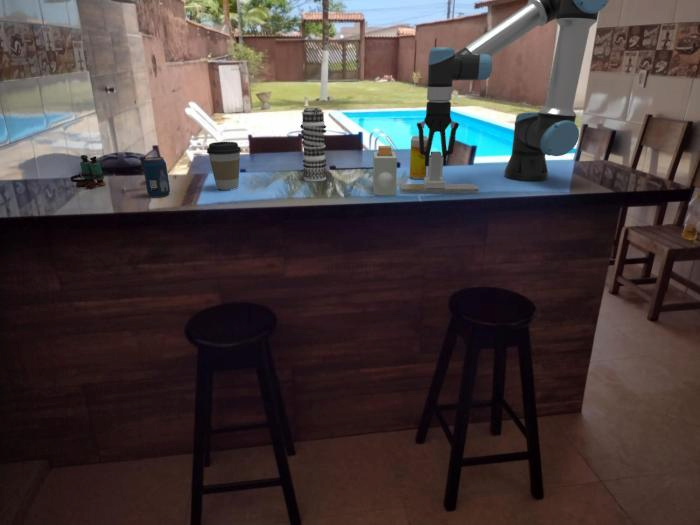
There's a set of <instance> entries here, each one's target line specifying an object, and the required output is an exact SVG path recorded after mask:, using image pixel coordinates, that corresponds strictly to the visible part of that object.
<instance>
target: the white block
mask: <svg viewBox="0 0 700 525" xmlns="http://www.w3.org/2000/svg"><path fill="white" fill-rule="evenodd" d="M372 154H373V155H372V156H373V160H372V161H373V162H372V163H373V164H372V165H373V167H372V173H373V174H372V189H373V190H372V191H373V196H374V195H378V196H397V172H398V171H397V169H398V168H397V166H398V164H397V163H398V158H397V155H396V153H395V151H391V156H378V151H373V153H372Z"/></svg>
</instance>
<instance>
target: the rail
mask: <svg viewBox="0 0 700 525" xmlns="http://www.w3.org/2000/svg"><path fill="white" fill-rule="evenodd" d="M399 191H400V194H401V193H410V194H479V187H478V186H477V185H475V183H445V188H426V187H425V185H424V183H399Z"/></svg>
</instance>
